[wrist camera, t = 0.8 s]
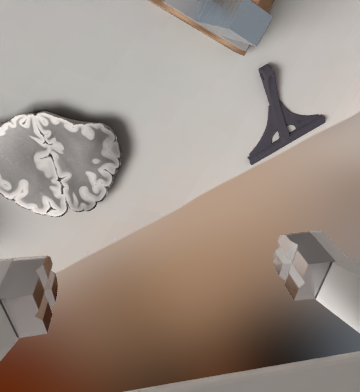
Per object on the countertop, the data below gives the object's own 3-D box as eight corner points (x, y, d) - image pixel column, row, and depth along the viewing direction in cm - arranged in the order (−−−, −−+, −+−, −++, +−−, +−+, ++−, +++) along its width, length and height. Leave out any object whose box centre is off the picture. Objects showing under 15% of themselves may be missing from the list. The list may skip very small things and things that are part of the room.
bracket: (303, 38, 40) (315, 40, 38) (320, 120, 49) (330, 126, 47) (217, 91, 42) (223, 96, 40) (248, 162, 51) (255, 169, 49)
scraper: (160, 1, 31) (186, 2, 21) (169, -23, 30) (201, -35, 20) (237, 48, 36) (289, 67, 25) (247, 28, 34) (306, 40, 24)
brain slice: (12, 213, 46) (7, 225, 44) (-39, 114, 36) (-49, 121, 34) (129, 195, 49) (131, 205, 47) (112, 98, 39) (112, 105, 37)
